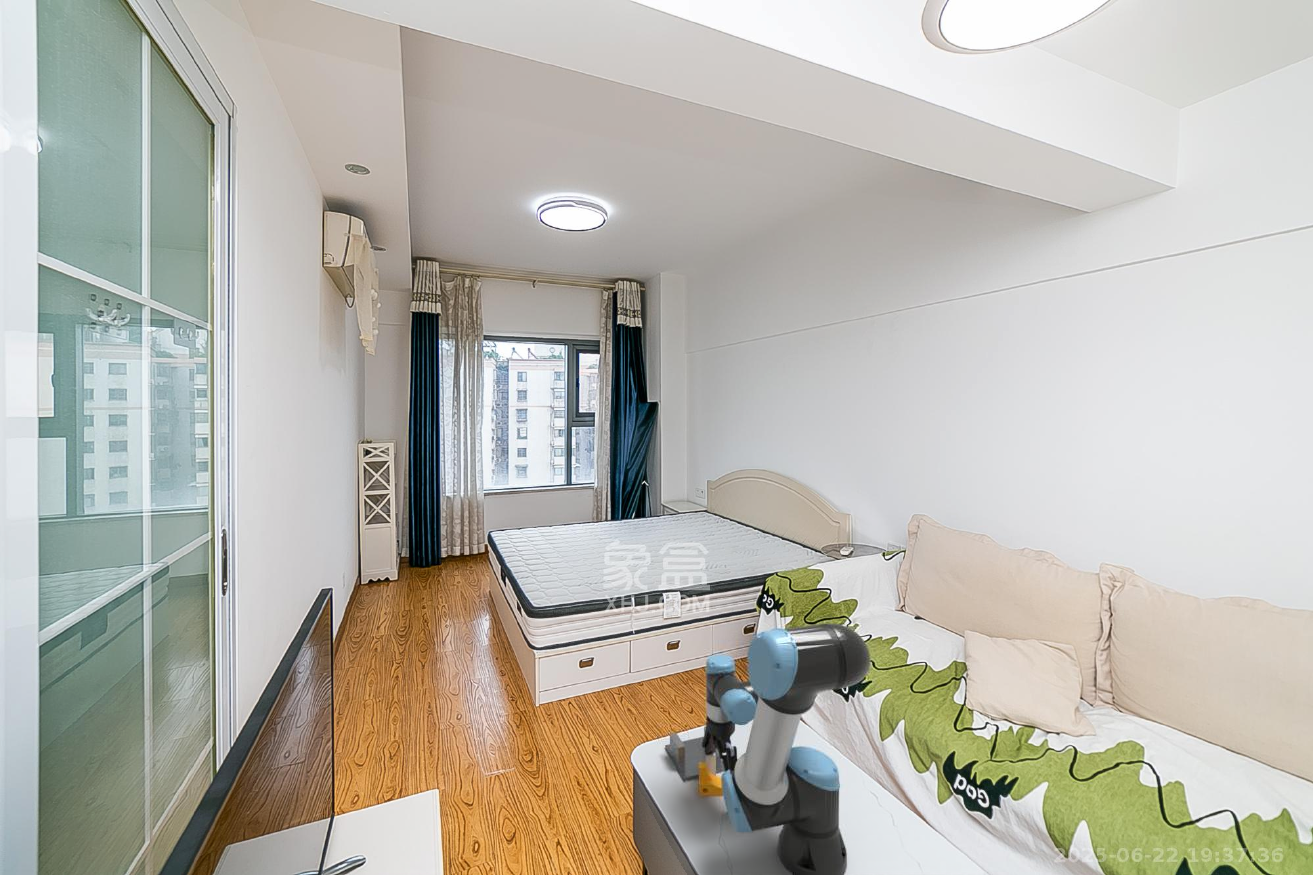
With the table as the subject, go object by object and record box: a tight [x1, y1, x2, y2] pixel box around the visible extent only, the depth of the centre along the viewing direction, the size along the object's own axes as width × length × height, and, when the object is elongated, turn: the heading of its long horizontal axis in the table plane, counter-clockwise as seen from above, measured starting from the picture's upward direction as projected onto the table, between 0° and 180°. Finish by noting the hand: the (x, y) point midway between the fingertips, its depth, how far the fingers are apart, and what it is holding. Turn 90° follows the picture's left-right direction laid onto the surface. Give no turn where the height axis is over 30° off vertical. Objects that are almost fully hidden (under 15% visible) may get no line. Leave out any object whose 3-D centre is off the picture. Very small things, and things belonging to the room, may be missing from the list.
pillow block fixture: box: [664, 725, 725, 782], centre depth 160 cm, size 16×13×7 cm
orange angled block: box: [698, 762, 724, 797], centre depth 147 cm, size 12×4×6 cm, turn 87°
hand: (721, 793), depth 146 cm, fingers open, 12 cm apart
